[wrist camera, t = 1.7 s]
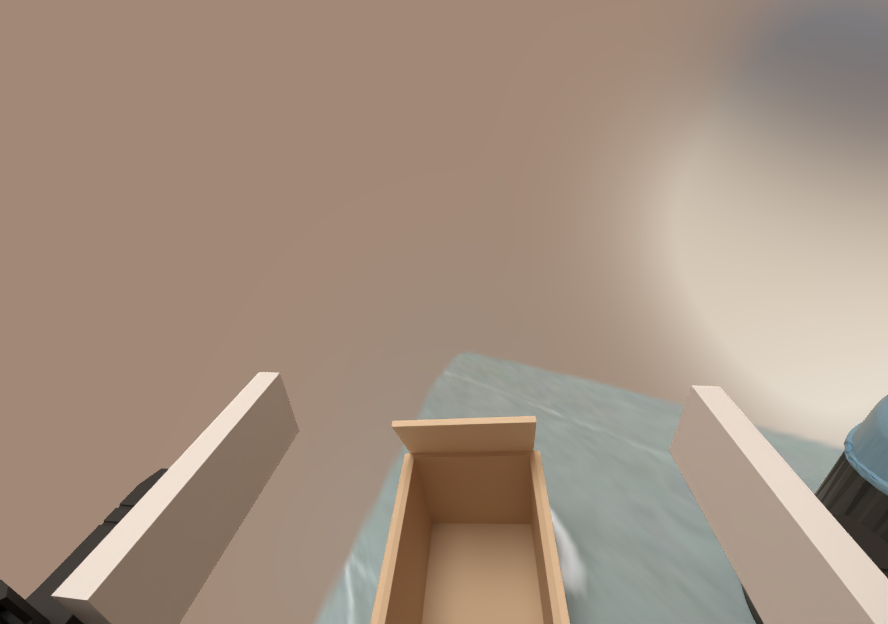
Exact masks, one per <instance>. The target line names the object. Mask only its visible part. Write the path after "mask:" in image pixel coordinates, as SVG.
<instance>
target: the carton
mask: <svg viewBox="0 0 888 624" xmlns="http://www.w3.org/2000/svg"><path fill="white" fill-rule="evenodd" d="M370 624H570V621H569V615H568V610H567V604H566V598H565V592H564V587H563V581H562V575H561V570H560V564H559V558H558V553H557V547H556V541H555V535H554V530H553V524H552V518H551V513H550V507H549V501H548V496H547V490H546V484H545V478H544V473H543V467H542V461H541V456H540V451H508V452H461V453H413V454H405V456H404V461H403V466H402V471H401V476H400V481H399V486H398V490H397V495H396V500H395V505H394V510H393V515H392V520H391V525H390V530H389V534H388V539H387V544H386V549H385V554H384V559H383V564H382V569H381V574H380V578H379V583H378V588H377V593H376V598H375V603H374V608H373V613H372V618H371V622H370Z"/></svg>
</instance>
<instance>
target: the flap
mask: <svg viewBox="0 0 888 624" xmlns="http://www.w3.org/2000/svg"><path fill="white" fill-rule="evenodd" d="M392 428H393V429H394V430H395V432H396V433H397V435H398V436H399V437H400V439H401V440H402V442H403V443H404V444H405V446H406V447H407V449H408V450H409V451H410V453H411V454H413V453H461V452H508V451H533V448H534V439H535V430H536V416H521V417H492V418H463V419H434V420H405V421H393V422H392Z"/></svg>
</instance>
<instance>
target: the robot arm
mask: <svg viewBox="0 0 888 624" xmlns="http://www.w3.org/2000/svg"><path fill="white" fill-rule="evenodd" d="M298 432H299V429H298V426H297V423H296V420H295V417H294V414H293V411H292V408H291V406H290V402H289V399H288V396H287V393H286V390H285V387H284V384H283V381H282V378H281V375H280V373H272V372H259V373H258V374H257V375H256V376H255V377H254V378H253V379H252V380H251V381H250V383H249V384H248V385H247V386H246V387H245V388H244V389H243V390H242V391H241V392H240V393H239V394H238V395H237V396H236V398H235V399H234V400H233V401H232V402H231V403H230V404H229V405H228V406H227V407H226V408H225V409H224V411H223V412H222V413H221V414H220V415H219V416H218V417H217V418H216V419H215V420H214V421H213V422H212V423H211V424H210V426H209V427H208V428H207V429H206V430H205V431H204V432H203V433H202V434H201V435H200V436H199V437H198V438H197V440H196V441H195V442H194V443H193V444H192V445H191V446H190V447H189V448H188V449H187V450H186V451H185V452H184V453H183V454H182V456H181V457H180V458H179V459H178V460H177V461H176V462H175V463H174V464H173V465H172V466H171V467H170V469H160V470H159V471H157V472H156V473H154V474H153V475H152V476H150V477H149V478H147V479H146V480H145V481H143V482H142V483H140V484H139V485H138V486H137V487H136V488H135V489H134V490H133V491H132V492H131V493H130V494H129V495H128V496H127V497H126V498H125V499H124V500H123V501H122V502H121V503H120V506H119V508H115V509H114V511H113V512H112V513H111V514H110V515H109V516H108V517H107V518H106V519H105V520H104V523H103V524H102V525H99V526H98V527H97V528H96V529H95V530H94V531H93V532H92V533H91V534H90V535H89V536H88V537H87V538H86V539H85V540H84V541H83V542H82V543H81V544H80V545H79V546H78V547H77V548H76V549H75V550H74V552H73V553H72V554H71V555H70V556H69V557H68V558H67V559H66V560H65V561H64V562H63V563H62V564H61V565H60V566H59V567H58V568H57V569H56V570H55V571H54V572H53V573H52V574H51V575H50V576H49V577H48V578H47V579H46V580H45V581H44V582H43V583H42V584H41V585H40V586H39V587H38V588H37V589H36V590H35V591H34V592H33V593H32V594H31V595H30V596H29V597H28V598H27V599H26V600H24V599H23V598H22V597H21V596H20V595H18V594H17V593H16V592H15V591H14V590H13V589H11V588H10V587H9V586H8V585H7V584H6V583H4V582H3V581H2V580H0V624H179V623H180V622H181V620H182V619H183V617H184V615H185V614H186V612H187V611H188V609H189V607H190V606H191V604H192V603H193V601H194V599H195V598H196V596H197V594H198V593H199V591H200V590H201V588H202V586H203V585H204V583H205V582H206V580H207V578H208V577H209V575H210V573H211V572H212V570H213V569H214V567H215V566H216V564H217V562H218V561H219V559H220V558H221V556H222V554H223V553H224V551H225V549H226V547H227V546H228V545H229V543H230V541H231V540H232V538H233V536H234V535H235V533H236V532H237V530H238V529H239V527H240V525H241V524H242V522H243V521H244V519H245V517H246V516H247V514H248V513H249V511H250V509H251V508H252V506H253V504H254V503H255V501H256V500H257V498H258V496H259V495H260V493H261V492H262V490H263V488H264V486H265V485H266V484H267V482H268V480H269V479H270V477H271V476H272V474H273V472H274V471H275V469H276V467H277V466H278V464H279V463H280V461H281V459H282V458H283V456H284V455H285V453H286V451H287V450H288V448H289V447H290V445H291V443H292V442H293V440H294V439H295V437H296V435H297V434H298ZM844 446H845V451H844V452H843V453H842V455H841V456H840V458H839V459H838V461H837V462H836V464H835V465H834V467H833V468H832V470H831V471H830V473H829V474H828V475H827V477H826V478H825V480H824V481H823V483H822V484H821V486H820V487H819V489H818V490H817V492H816V493H815V494H813V493H812V492H811V490H810V489H809V488H808V487H807V486H806V485H805V484H804V482H803V481H802V480H801V479H800V478H799V477H798V476H797V474H796V473H795V472H794V471H793V470H792V469H791V468H790V466H789V465H788V464H787V463H786V462H785V461H784V460H783V458H782V457H781V456H780V455H779V454H778V453H777V452H776V450H775V449H774V448H773V447H772V446H771V445H770V443H769V442H768V441H767V440H766V439H765V438H764V437H763V435H762V434H761V433H760V432H759V431H758V430H757V429H756V427H755V426H754V425H753V424H752V423H751V422H750V421H749V419H748V418H747V417H746V416H745V415H744V414H743V413H742V411H741V410H739V408H738V407H737V406H736V405H735V403H734V402H733V401H732V400H731V399H730V398H729V397H728V395H727V394H726V393H725V392H724V391H723V390H722V389H721V387H720V386H691V388H690V391H689V394H688V397H687V400H686V403H685V406H684V409H683V412H682V414H681V417H680V420H679V423H678V426H677V429H676V432H675V435H674V438H673V441H672V444H671V446H670V449H669V451H670V453H671V455H672V457H673V459H674V461H675V462H676V464H677V466H678V468H679V470H680V472H681V473H682V475H683V477H684V479H685V481H686V482H687V484H688V486H689V488H690V490H691V492H692V493H693V495H694V497H695V499H696V501H697V503H698V504H699V506H700V508H701V510H702V512H703V514H704V515H705V517H706V519H707V521H708V523H709V524H710V526H711V528H712V530H713V532H714V534H715V535H716V537H717V539H718V541H719V543H720V545H721V546H722V548H723V550H724V552H725V554H726V556H727V557H728V559H729V561H730V563H731V565H732V566H733V568H734V570H735V572H736V574H737V576H738V577H739V579H740V581H741V583H742V586H743V590H744V594H745V597H746V600H747V603H748V605H749V608H750V610H751V612H752V614H753V616H754V619H755V620H756V622H757V624H888V395H887V396H886V397H884V398H883V399H882V400H881V401H880V402H879V403H878V404H877V405H876V406H875V407H874V408H873V410H872V411H871V412H870V413H869V415H868V416H867V417H866V419H865V420H864V421H863V422H862V423H860V424H859V425H857V426H856V427H854V428H853V429H852V430H851V431H850V432H849V434H848V435H847V438H846V440H845V442H844Z"/></svg>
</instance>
